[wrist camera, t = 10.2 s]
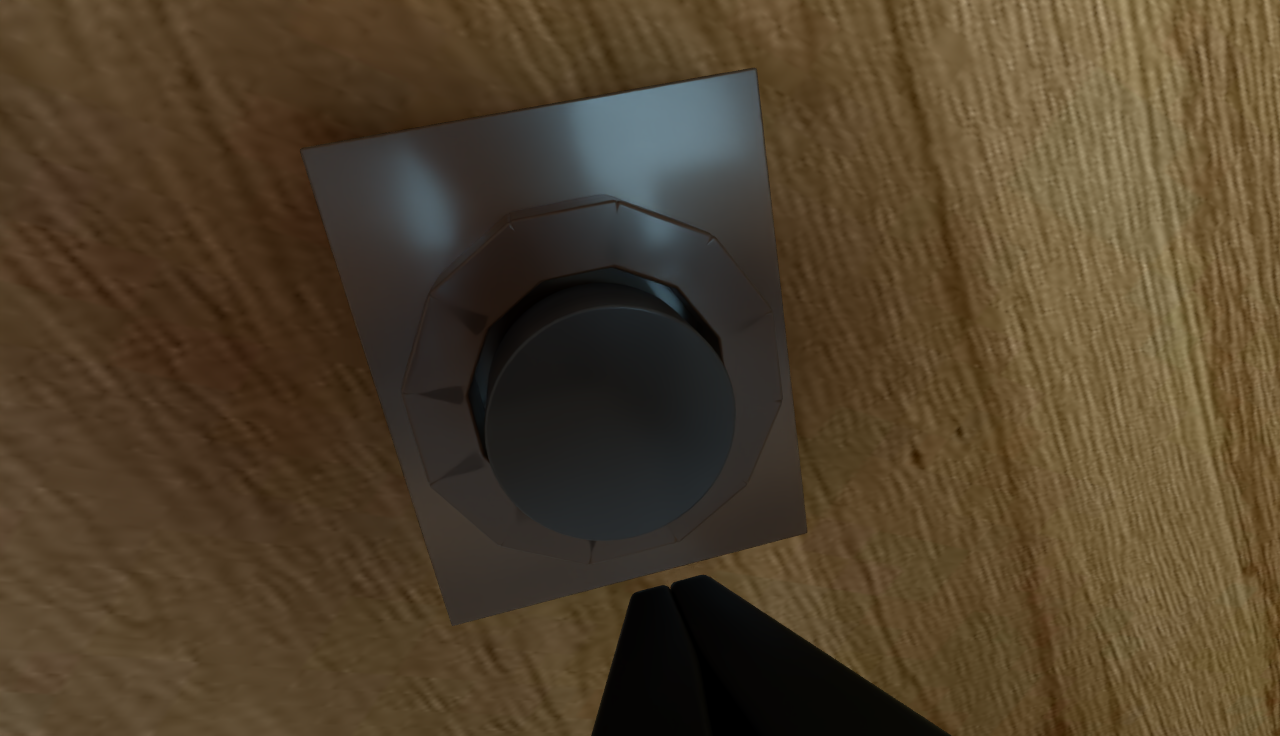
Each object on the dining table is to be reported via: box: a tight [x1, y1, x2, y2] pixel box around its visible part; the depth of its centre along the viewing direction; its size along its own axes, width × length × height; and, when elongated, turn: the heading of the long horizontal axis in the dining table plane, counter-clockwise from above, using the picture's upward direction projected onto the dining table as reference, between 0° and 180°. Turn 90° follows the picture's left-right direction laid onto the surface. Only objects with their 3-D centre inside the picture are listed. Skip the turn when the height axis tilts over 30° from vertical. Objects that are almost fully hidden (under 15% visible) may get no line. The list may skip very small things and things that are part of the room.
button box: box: [300, 68, 807, 626], centre depth 15 cm, size 11×9×4 cm
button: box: [484, 283, 736, 541], centre depth 13 cm, size 4×4×2 cm
